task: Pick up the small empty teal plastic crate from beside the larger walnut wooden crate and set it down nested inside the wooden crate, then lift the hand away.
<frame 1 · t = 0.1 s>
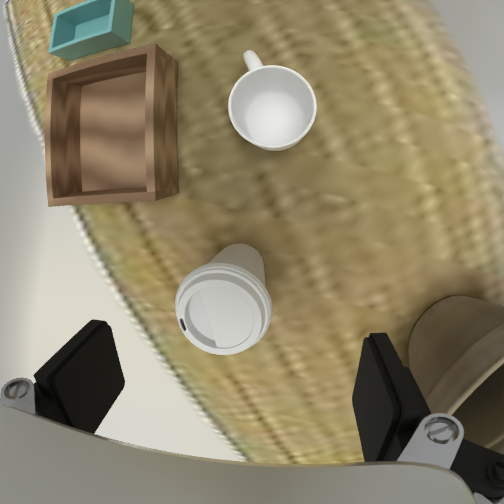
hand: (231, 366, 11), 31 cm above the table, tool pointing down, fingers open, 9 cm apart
big crate: (123, 131, 39), on the table
plant pot: (447, 334, 43), on the table
mug: (269, 106, 37), on the table
coffee cup: (240, 266, 43), on the table
small crate: (101, 32, 35), on the table
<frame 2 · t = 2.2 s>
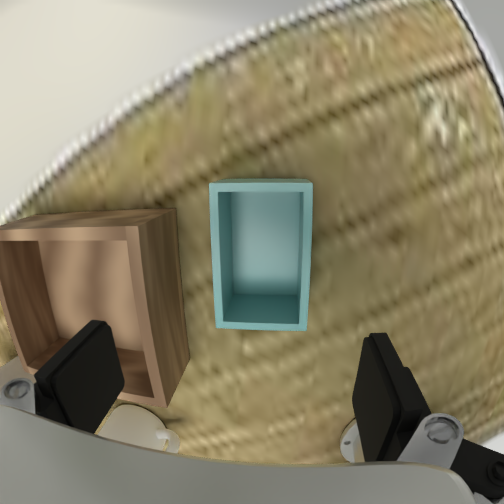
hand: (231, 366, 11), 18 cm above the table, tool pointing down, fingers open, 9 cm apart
big crate: (103, 286, 31), on the table
mug: (151, 422, 37), on the table
coffee cup: (30, 371, 37), on the table
small crate: (265, 240, 28), on the table
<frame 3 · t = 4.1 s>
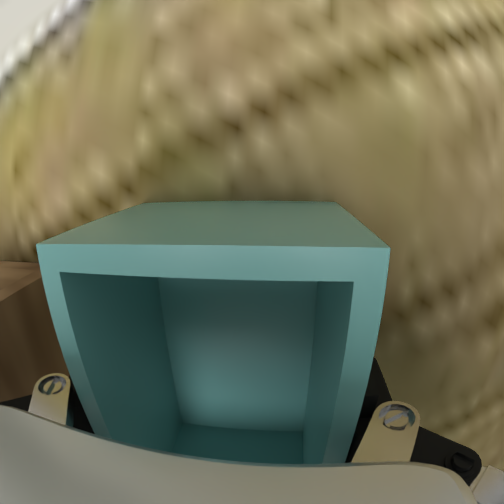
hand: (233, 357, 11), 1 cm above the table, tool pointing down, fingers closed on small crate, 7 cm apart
big crate: (2, 368, 16), on the table
small crate: (239, 338, 13), on the table, touching gripper
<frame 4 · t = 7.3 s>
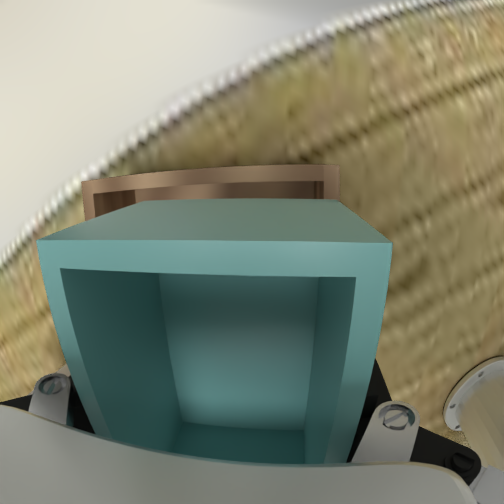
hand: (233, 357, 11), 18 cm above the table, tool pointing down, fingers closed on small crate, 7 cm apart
big crate: (225, 254, 29), on the table
small crate: (240, 337, 13), point 17 cm above the table, touching gripper
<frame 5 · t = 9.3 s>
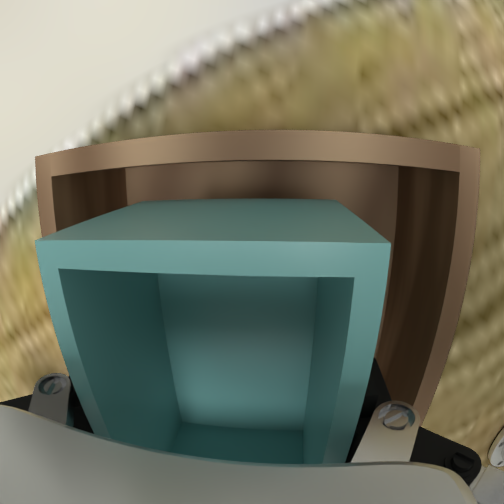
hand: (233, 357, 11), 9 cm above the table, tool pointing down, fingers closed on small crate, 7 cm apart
big crate: (259, 276, 20), on the table
small crate: (239, 337, 13), point 8 cm above the table, touching gripper
when the fingers open (4 cm above the table, at t = 10.8 s): small crate drops 2 cm, resting on big crate.
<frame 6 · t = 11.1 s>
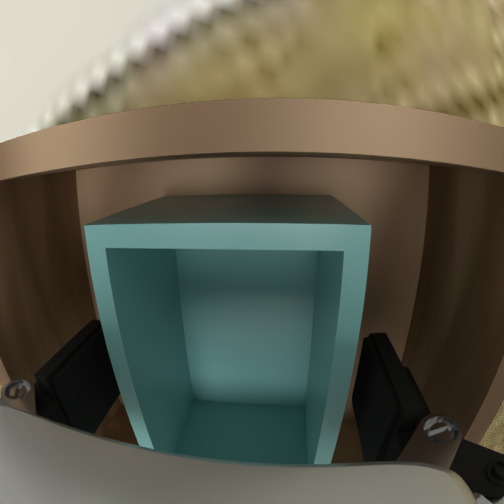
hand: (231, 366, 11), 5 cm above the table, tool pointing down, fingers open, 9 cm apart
big crate: (246, 307, 15), on the table
small crate: (247, 317, 14), point 1 cm above the table, touching big crate
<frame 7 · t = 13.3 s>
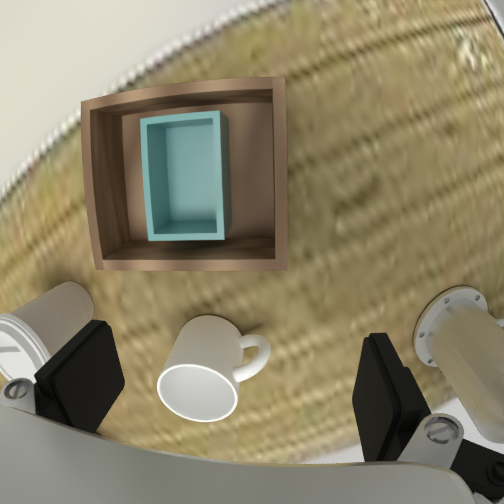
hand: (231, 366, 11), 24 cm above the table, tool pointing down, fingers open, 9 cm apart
big crate: (196, 172, 33), on the table
mug: (225, 336, 39), on the table
coffee cup: (75, 302, 39), on the table
small crate: (196, 172, 32), point 1 cm above the table, touching big crate
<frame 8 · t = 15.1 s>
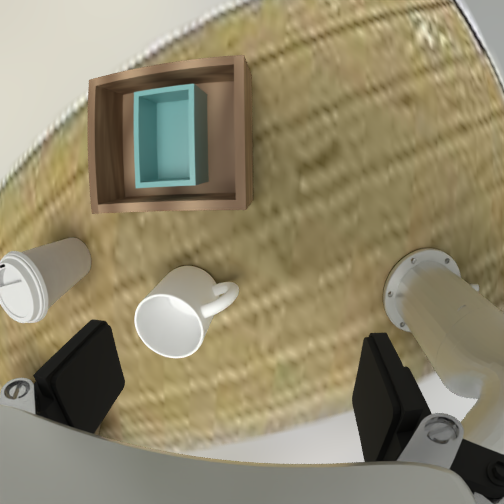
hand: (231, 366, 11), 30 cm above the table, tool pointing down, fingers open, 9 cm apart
big crate: (181, 139, 38), on the table
mug: (203, 287, 44), on the table
coffee cup: (75, 257, 44), on the table
small crate: (180, 139, 37), point 1 cm above the table, touching big crate
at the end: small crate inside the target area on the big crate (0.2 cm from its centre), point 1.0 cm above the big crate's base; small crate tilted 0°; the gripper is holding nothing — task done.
